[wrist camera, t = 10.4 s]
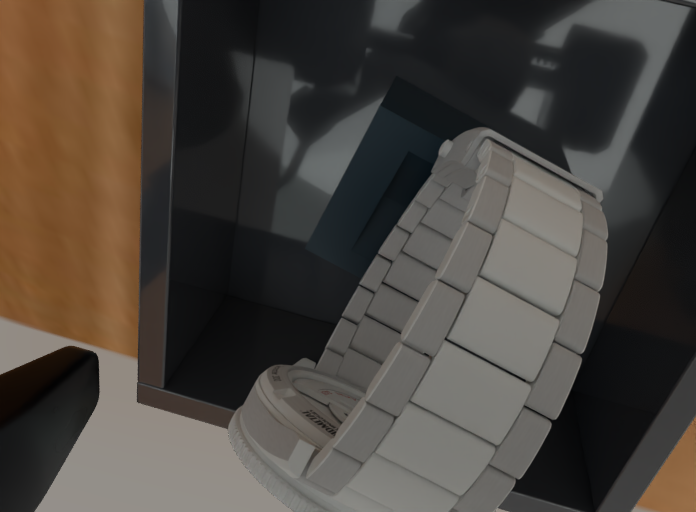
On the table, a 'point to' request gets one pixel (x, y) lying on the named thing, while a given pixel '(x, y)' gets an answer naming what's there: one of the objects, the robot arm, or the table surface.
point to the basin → (339, 148)
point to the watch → (433, 322)
